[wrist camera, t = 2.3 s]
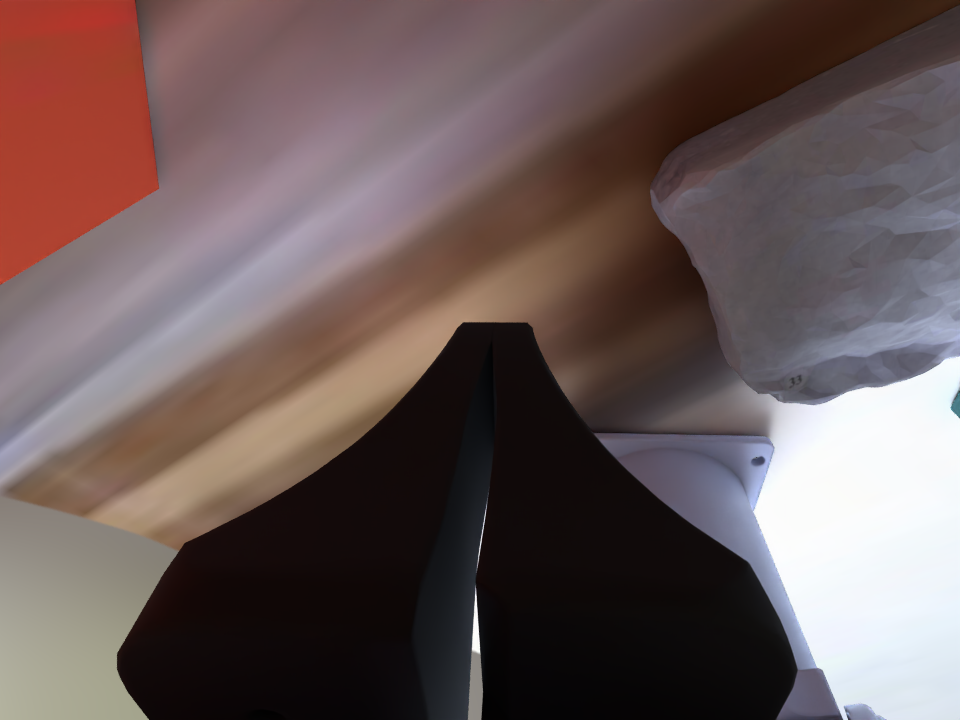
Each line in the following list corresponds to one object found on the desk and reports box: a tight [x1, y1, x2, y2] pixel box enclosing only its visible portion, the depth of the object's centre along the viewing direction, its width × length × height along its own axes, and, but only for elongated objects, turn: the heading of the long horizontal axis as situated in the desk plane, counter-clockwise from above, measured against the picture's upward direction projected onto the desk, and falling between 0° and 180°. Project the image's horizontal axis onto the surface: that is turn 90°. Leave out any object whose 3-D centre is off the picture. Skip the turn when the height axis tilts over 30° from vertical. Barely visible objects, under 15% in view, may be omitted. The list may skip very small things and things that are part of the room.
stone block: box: [650, 5, 960, 405], centre depth 16 cm, size 12×5×10 cm
